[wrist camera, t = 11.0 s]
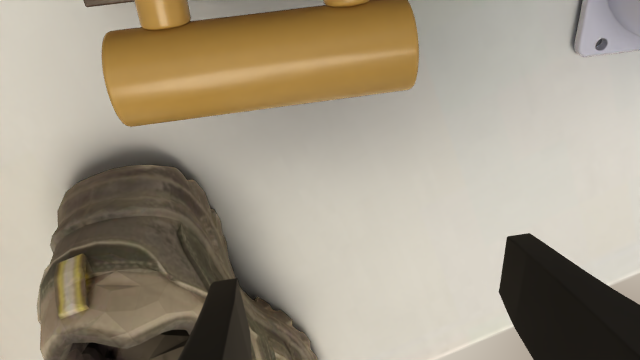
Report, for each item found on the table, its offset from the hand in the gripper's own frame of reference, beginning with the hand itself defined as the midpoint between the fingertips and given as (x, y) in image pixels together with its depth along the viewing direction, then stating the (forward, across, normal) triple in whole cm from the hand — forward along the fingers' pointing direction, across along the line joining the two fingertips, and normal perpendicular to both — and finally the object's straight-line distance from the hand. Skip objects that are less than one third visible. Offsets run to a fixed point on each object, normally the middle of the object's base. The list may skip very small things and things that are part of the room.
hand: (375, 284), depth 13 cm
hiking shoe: (+11, +7, +10) cm, 16 cm away
